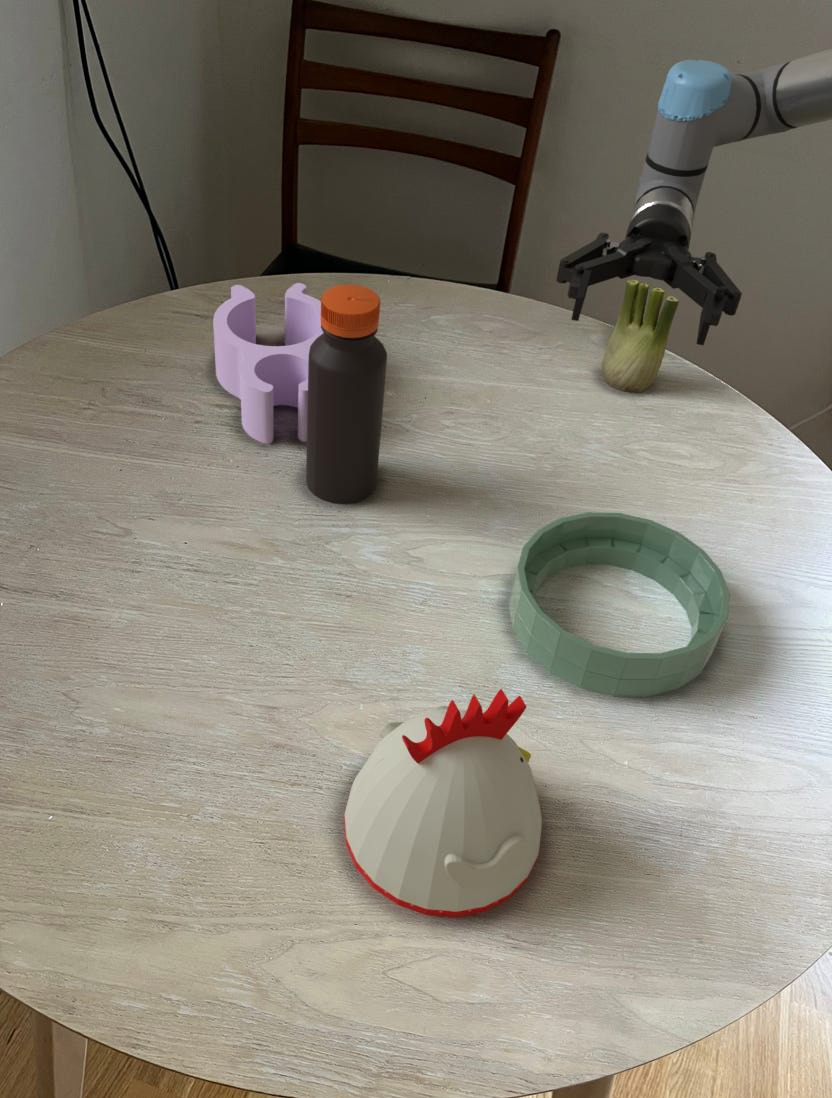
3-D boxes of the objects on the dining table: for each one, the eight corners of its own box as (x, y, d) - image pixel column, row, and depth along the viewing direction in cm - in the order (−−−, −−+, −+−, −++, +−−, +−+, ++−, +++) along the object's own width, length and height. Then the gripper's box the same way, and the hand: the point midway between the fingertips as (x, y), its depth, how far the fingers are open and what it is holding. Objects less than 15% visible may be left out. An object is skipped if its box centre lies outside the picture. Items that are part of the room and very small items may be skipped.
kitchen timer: (570, 889, 75) (620, 760, 64) (387, 949, 71) (406, 823, 60) (485, 738, 83) (516, 601, 72) (317, 784, 80) (323, 648, 69)
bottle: (359, 460, 106) (371, 272, 92) (387, 502, 102) (405, 312, 88) (295, 475, 104) (297, 285, 90) (321, 518, 100) (328, 327, 85)
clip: (348, 447, 108) (351, 388, 103) (223, 453, 106) (220, 394, 101) (324, 339, 121) (325, 282, 116) (212, 343, 119) (209, 285, 114)
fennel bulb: (656, 398, 116) (687, 296, 107) (618, 406, 115) (646, 304, 106) (627, 369, 120) (655, 269, 111) (589, 377, 118) (614, 276, 110)
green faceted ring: (715, 583, 97) (734, 537, 93) (702, 726, 85) (723, 681, 81) (527, 540, 99) (537, 494, 95) (490, 673, 88) (500, 627, 84)
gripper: (753, 282, 131) (746, 374, 116) (551, 245, 135) (520, 330, 121) (774, 222, 125) (769, 311, 111) (562, 185, 129) (531, 267, 115)
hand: (639, 321), depth 116 cm, fingers open, 13 cm apart
